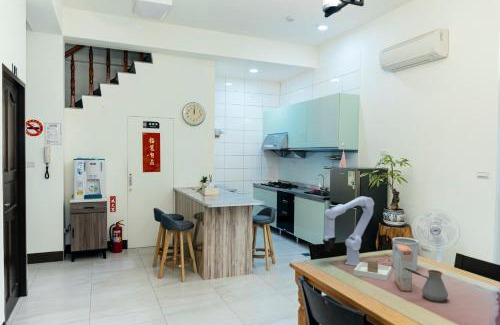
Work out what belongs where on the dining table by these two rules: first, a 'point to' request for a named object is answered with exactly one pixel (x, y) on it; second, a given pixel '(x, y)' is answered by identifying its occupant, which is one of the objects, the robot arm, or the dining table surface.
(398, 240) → the utensil holder
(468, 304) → the dining table surface
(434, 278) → the coffee pot
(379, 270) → the tray
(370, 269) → the walnut block
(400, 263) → the cracker box
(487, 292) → the dining table surface
